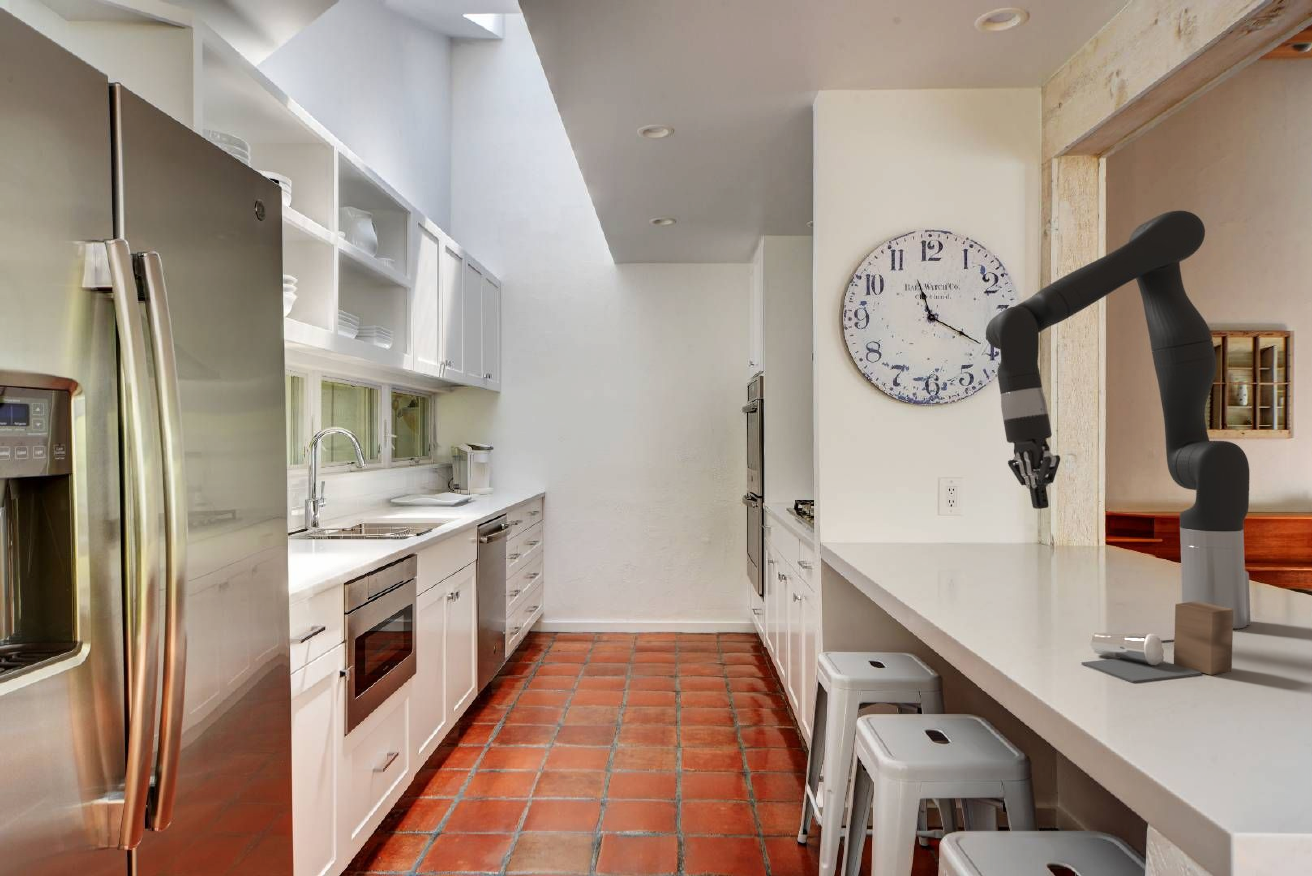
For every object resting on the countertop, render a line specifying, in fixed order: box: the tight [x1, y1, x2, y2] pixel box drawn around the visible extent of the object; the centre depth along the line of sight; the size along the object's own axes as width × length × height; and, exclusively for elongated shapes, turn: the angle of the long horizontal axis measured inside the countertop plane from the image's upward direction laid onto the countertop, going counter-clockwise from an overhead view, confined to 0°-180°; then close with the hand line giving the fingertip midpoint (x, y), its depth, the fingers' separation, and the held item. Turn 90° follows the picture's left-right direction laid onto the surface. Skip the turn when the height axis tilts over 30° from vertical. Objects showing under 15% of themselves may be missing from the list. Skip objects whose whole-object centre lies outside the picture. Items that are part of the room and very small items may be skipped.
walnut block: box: [1173, 601, 1234, 676], centre depth 107 cm, size 5×5×9 cm
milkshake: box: [1090, 632, 1174, 665], centre depth 111 cm, size 4×5×10 cm
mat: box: [1081, 657, 1203, 684], centre depth 107 cm, size 12×9×1 cm
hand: (1040, 508), depth 133 cm, fingers closed
